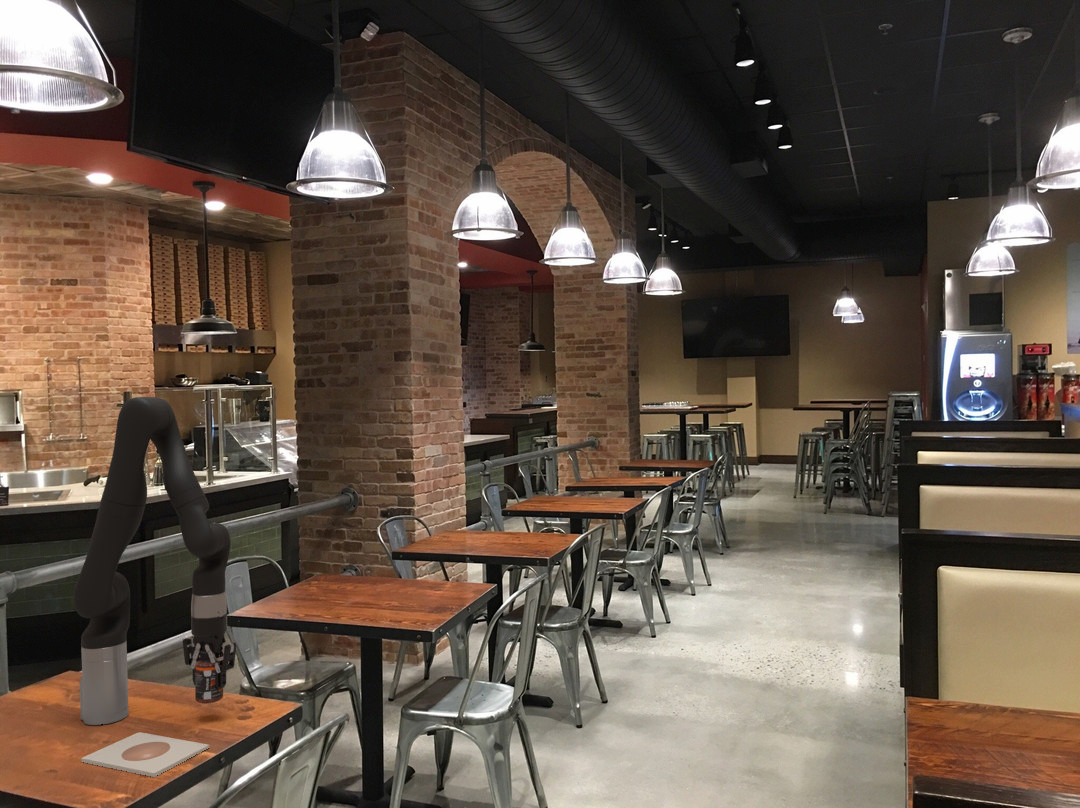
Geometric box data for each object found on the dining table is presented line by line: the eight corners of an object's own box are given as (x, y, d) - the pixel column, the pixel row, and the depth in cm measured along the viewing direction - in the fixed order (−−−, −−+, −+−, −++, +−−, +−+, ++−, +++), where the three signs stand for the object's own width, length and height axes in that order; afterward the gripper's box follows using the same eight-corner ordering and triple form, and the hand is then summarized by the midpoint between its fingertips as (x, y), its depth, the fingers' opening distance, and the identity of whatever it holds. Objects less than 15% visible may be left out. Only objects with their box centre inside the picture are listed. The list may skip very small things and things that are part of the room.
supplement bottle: (213, 705, 187) (213, 654, 186) (189, 703, 188) (189, 653, 188) (228, 696, 192) (228, 647, 192) (205, 694, 194) (205, 645, 194)
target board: (81, 762, 168) (81, 757, 168) (139, 735, 181) (138, 731, 181) (154, 777, 161) (154, 772, 161) (209, 748, 173) (209, 744, 173)
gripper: (172, 613, 189) (172, 687, 189) (221, 619, 184) (221, 695, 184) (197, 605, 196) (198, 677, 196) (245, 611, 191) (246, 685, 191)
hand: (209, 685), depth 190 cm, fingers closed on supplement bottle, 6 cm apart
